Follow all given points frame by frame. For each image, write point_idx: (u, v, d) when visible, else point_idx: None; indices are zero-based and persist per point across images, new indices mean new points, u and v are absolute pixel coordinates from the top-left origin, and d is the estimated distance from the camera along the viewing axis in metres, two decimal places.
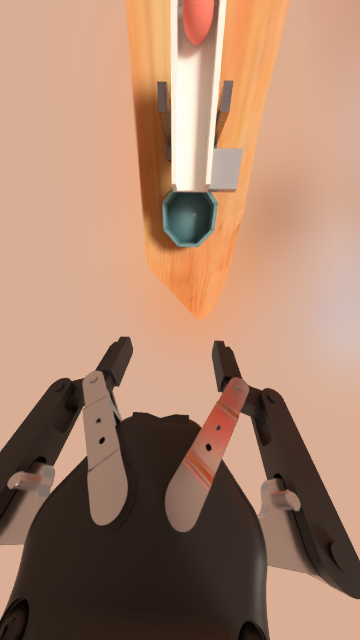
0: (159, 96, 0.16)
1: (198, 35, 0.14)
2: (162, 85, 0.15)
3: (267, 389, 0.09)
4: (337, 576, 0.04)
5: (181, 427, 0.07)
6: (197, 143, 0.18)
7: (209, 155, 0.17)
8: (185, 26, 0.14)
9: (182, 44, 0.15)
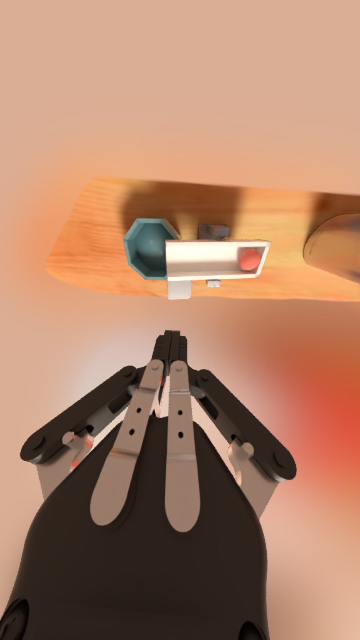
0: (223, 229, 0.19)
1: (240, 261, 0.21)
2: (227, 232, 0.19)
3: (198, 372, 0.09)
4: (285, 473, 0.06)
5: None
6: (196, 263, 0.22)
7: (185, 277, 0.21)
8: (246, 252, 0.21)
9: (243, 247, 0.22)
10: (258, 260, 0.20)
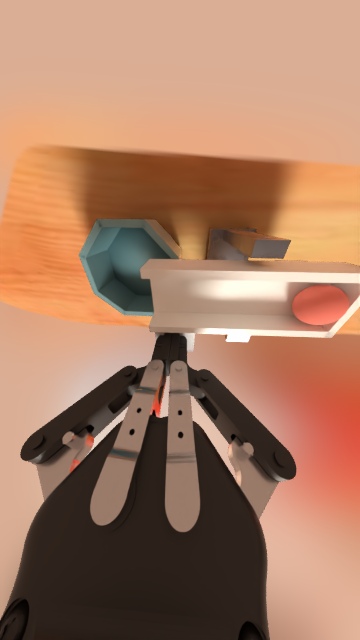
0: (273, 243, 0.08)
1: (297, 307, 0.10)
2: (283, 250, 0.08)
3: (198, 372, 0.09)
4: (284, 473, 0.06)
5: None
6: (206, 300, 0.12)
7: (181, 329, 0.11)
8: (315, 290, 0.10)
9: None
10: (344, 312, 0.09)
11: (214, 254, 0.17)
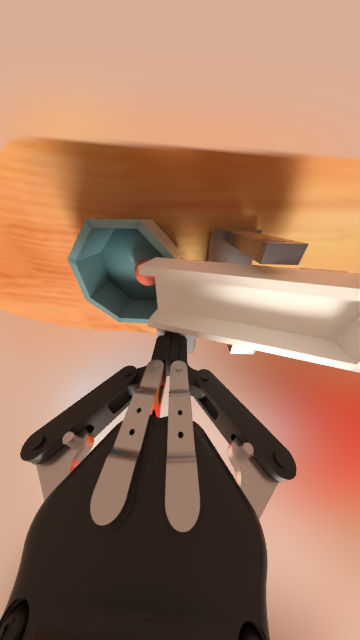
0: (287, 247, 0.07)
1: None
2: (298, 255, 0.07)
3: (198, 372, 0.09)
4: (285, 473, 0.06)
5: None
6: (208, 304, 0.12)
7: (176, 328, 0.11)
8: (139, 261, 0.16)
9: None
10: None
11: (215, 257, 0.16)
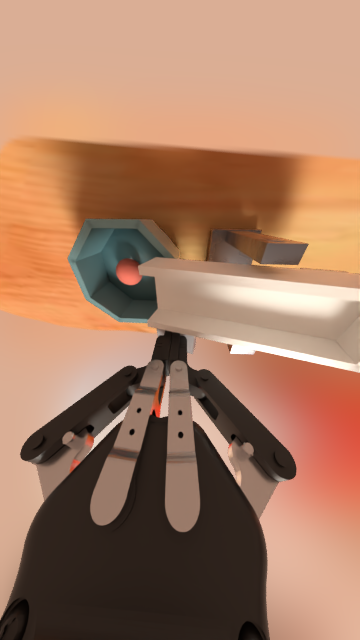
0: (288, 247, 0.07)
1: None
2: (298, 255, 0.07)
3: (198, 372, 0.09)
4: (285, 473, 0.06)
5: None
6: (208, 304, 0.12)
7: (176, 328, 0.11)
8: None
9: None
10: None
11: (215, 257, 0.16)
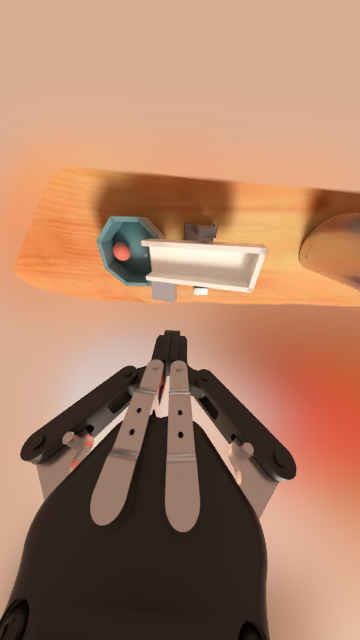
0: (208, 229, 0.16)
1: (130, 252, 0.25)
2: (214, 233, 0.16)
3: (198, 372, 0.09)
4: (285, 473, 0.06)
5: None
6: (180, 265, 0.20)
7: (162, 279, 0.20)
8: (125, 244, 0.24)
9: (236, 253, 0.18)
10: None
11: None
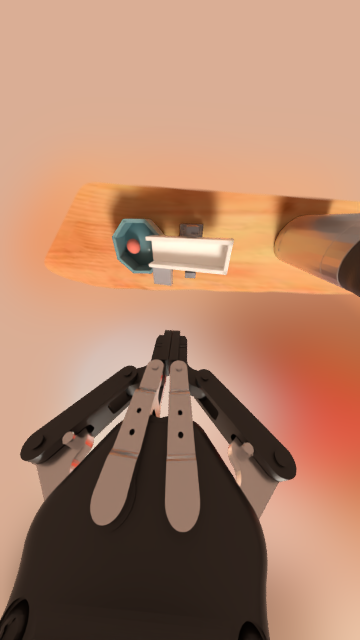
0: (193, 227, 0.22)
1: None
2: (197, 230, 0.22)
3: (198, 372, 0.09)
4: (285, 473, 0.06)
5: None
6: (175, 256, 0.27)
7: (161, 265, 0.27)
8: (136, 240, 0.31)
9: (215, 245, 0.24)
10: None
11: None
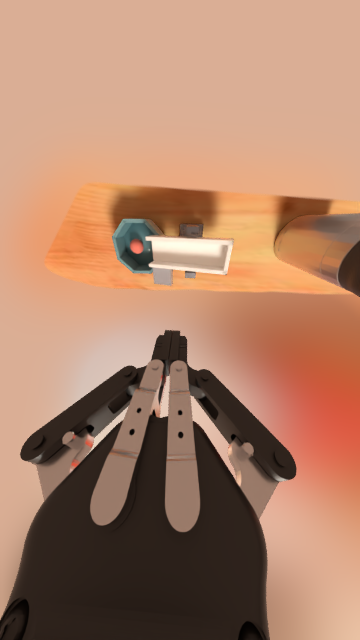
0: (193, 227, 0.22)
1: None
2: (197, 230, 0.22)
3: (198, 372, 0.09)
4: (285, 473, 0.06)
5: None
6: (175, 256, 0.27)
7: (161, 265, 0.27)
8: (139, 240, 0.31)
9: (215, 245, 0.24)
10: None
11: None
